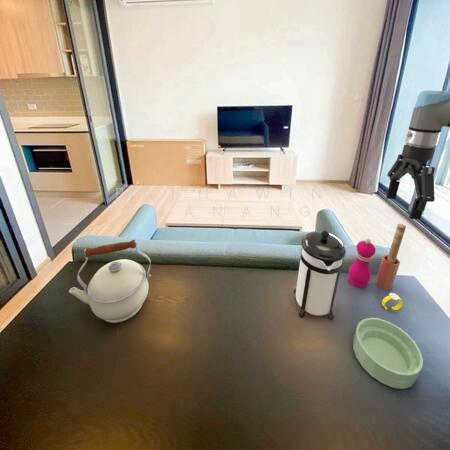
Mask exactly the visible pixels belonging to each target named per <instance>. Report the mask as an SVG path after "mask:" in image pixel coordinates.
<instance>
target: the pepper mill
mask: <svg viewBox="0 0 450 450" xmlns="http://www.w3.org/2000/svg"><path fill="white" fill-rule="evenodd" d="M375 254H376V246H375V245H374V244H373V243H372V240H371V239H370V238H365V240H360V241H359V242H357V244H356V253H355V256H356V260H355V261H354V262H353V263H352V264H351V265H350V267H349V269H348V274H349V275H348V278H347V279H348V282H349V283H350V285H352V286H353V287H355V288H357V289H365V288H366V287H367V286H368V282H369V281H370V280H371V274H372V273H371V269H370V262H372V260H373V257H374V255H375Z"/></svg>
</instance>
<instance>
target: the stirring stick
mask: <svg viewBox="0 0 450 450" xmlns="http://www.w3.org/2000/svg"><path fill="white" fill-rule="evenodd" d="M406 228H407V226H406V225H405V224H403V223H398V224H396V229H395V232H394V235H393V238H392V242H391V245H390V249H389V252H388V254H387V255H388V258H387V261H388V262H390V263H392V264H395V261H396V258H397V259H398V255H399V252H400V248H401V244H402V241H403V239H404V235H405V232H406Z"/></svg>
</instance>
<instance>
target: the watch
mask: <svg viewBox="0 0 450 450" xmlns="http://www.w3.org/2000/svg"><path fill="white" fill-rule="evenodd" d="M391 300H392V301H394V302H398V301H399V302H398V303H397V304H396V305H394V306H391V307H390V308H391V309H392V311H398V310H401V309H402V307H403V305H404V302H403V300H402V299H401V297H400V296H399V295H398V294H397V293H394V292H389V293H388V295H386V296H384V297H383V299H382V300H381V304H382V307H383V309H384V310H387V311H388V307H387V306H386V303H387V302H389V301H391Z"/></svg>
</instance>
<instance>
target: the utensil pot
mask: <svg viewBox="0 0 450 450" xmlns="http://www.w3.org/2000/svg"><path fill="white" fill-rule="evenodd" d="M388 255H389V254H384V255H383V256H382V258H381V262H380V265H379V269H378V272H377V275H376V280H375V283H376V285H377V286H378V287H379V288H381V289H383V290H385V291H391V290H393V287H394V283H395V280H396V277H397V274H398V271H399V268H400V265H401V261H400V259H398V257H397V258H396V261H395V264H392V263H390V262H388V261H387V258H388Z"/></svg>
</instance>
